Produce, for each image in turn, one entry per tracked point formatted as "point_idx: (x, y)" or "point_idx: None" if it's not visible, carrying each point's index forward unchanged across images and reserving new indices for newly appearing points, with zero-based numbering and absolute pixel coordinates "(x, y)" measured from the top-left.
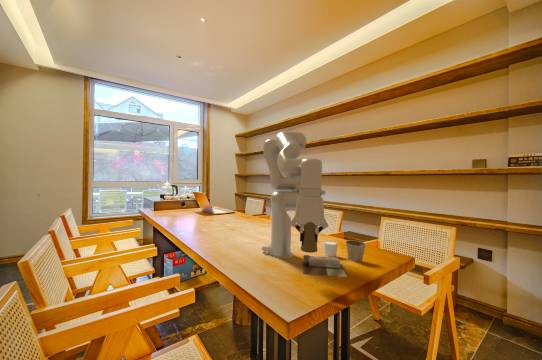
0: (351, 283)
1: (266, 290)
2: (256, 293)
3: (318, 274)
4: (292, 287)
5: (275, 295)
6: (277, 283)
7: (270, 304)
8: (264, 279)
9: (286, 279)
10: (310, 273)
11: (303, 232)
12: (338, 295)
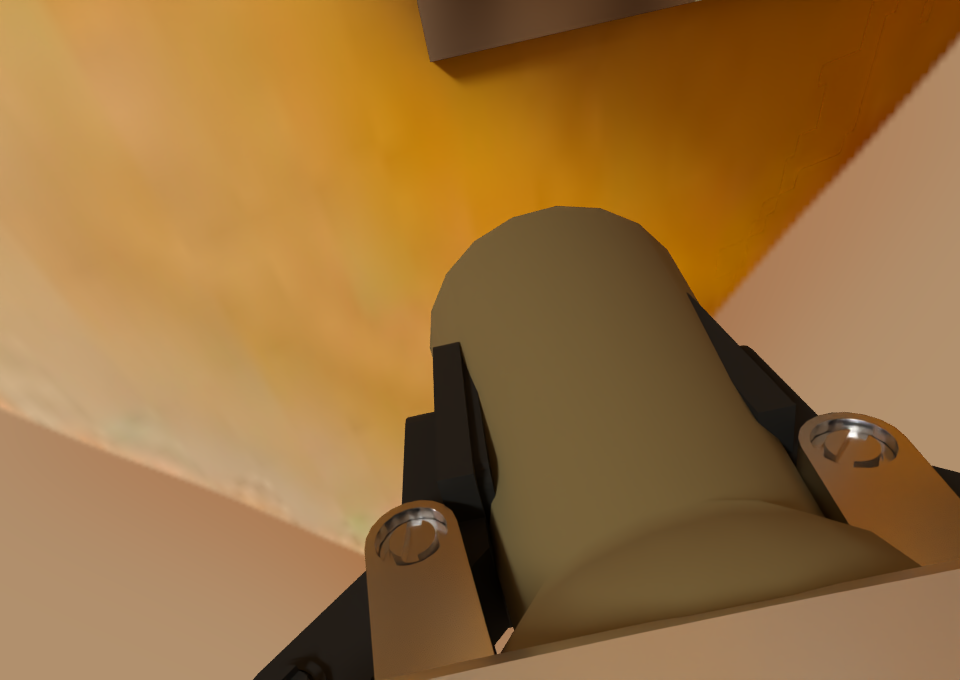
0: (895, 18)
1: (240, 411)
2: (202, 465)
3: (591, 2)
4: (396, 303)
5: (326, 443)
6: (259, 286)
7: (342, 528)
8: (119, 260)
9: (297, 181)
10: (503, 11)
11: (505, 612)
12: (733, 289)
